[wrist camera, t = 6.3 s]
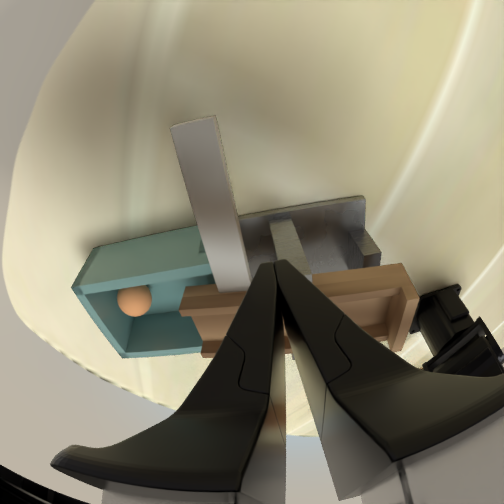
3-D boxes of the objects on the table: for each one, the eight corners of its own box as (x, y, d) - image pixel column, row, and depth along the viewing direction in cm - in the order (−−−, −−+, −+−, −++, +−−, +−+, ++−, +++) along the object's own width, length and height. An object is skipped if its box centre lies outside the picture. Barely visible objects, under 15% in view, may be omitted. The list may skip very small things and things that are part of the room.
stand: (357, 281, 26) (386, 340, 20) (244, 303, 26) (249, 369, 20) (362, 195, 21) (408, 248, 15) (222, 219, 21) (220, 284, 15)
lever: (389, 319, 20) (400, 353, 17) (208, 337, 22) (202, 372, 19) (413, 100, 11) (448, 113, 8) (132, 136, 13) (101, 155, 10)
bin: (236, 303, 26) (238, 347, 22) (133, 317, 27) (122, 358, 22) (213, 222, 21) (209, 263, 17) (93, 248, 22) (71, 287, 18)
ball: (143, 294, 25) (163, 305, 23) (120, 315, 23) (139, 329, 21) (130, 269, 23) (150, 278, 22) (105, 290, 21) (123, 303, 20)
